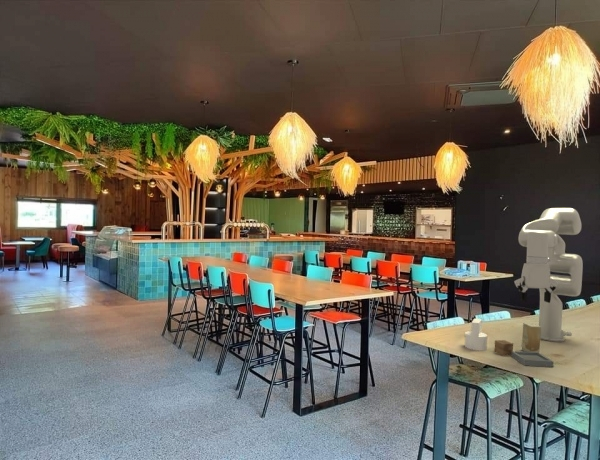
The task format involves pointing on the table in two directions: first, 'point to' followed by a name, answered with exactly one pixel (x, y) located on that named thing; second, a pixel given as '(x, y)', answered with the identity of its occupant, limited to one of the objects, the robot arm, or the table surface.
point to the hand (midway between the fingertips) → (535, 301)
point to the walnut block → (503, 347)
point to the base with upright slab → (476, 337)
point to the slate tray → (532, 358)
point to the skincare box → (531, 337)
